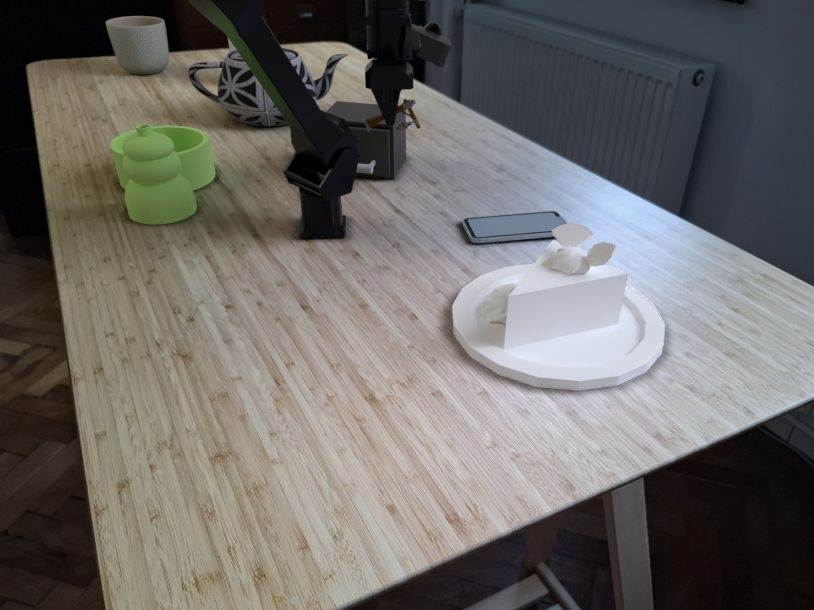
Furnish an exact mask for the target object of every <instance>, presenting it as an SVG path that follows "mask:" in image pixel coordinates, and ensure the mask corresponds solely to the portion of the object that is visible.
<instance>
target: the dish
mask: <svg viewBox="0 0 814 610" xmlns="http://www.w3.org/2000/svg"><path fill="white" fill-rule="evenodd" d="M566 223H567V224H563V225H559V226H558V227H556V228H554V229H553V230H552V233H553V235H554V236H555V237H554V238H555V239H552V241H550V243H549V245H547V247H546V248H545V250H543V252H542V253H541V255H540V256H539V257H538V258H537V260H536V261H535V262H534V263H530V264H519V265H517V264H516V265H508V266H505V267H502V268H499V269H495V270H492V271H488V272H486V273H483V274H480V275H479V276H478V277H476V278H474V279H473V280H471V282H469V283H467V284H466V285H464V286H463V287H462V288H461V289H460V291H459V292H458V295H457V296H456V298H455V300H454V302H453V303H452V305H451V320H452V328H453V329H452V330H453V336H454V338H455V339H456V340H457V342H458V343H459V344H460V345H461V347H462V348H463V350H464V351H465V352H466V353H467V355H468V357H470V358H472V359H473V360H475V361H476V362H477V363H479V364H481V365H483V366H484V367H485V368H487V369H489V370H490V371H491V372H493V373H495V374H496V375H498V376H501V377H504V378H507V379H510V380H514V381H516V382H520V383H523V384H526V385H529V386H532V387H536V388H542V389H543V388H544V389H554V390H563V391H564V390H565V391H573V392H574V391H576V392H581V391H588V390H594V389H602V388H610V387H616V386H617V387H618V386H619V385H622V384H624V383H626V382H628V381H630V380H632V379H635V378H637V377H639V376H642V375H644V374H646V373H647V371H648V370H649V369H650V368H651V367H652V366H653V365H654V363H655V362H656V361H657V360H658V359H659V358H660V356H661V355H662V353H663V349H664V346H665V345H664V344H665V333H666V322H665V321H664V319H663V318H662V316H661V314H660V312H659V309H658V308H657V307H656V305H655V304H654V303H653V302H652V301H651V300H650V299H649V298H647V297H646V296H645V295H644V294H642V293H641V292H640V291H639V290H638V289H636V287H634V286H631V285H630V284H628V283H627V281H628V277H629V273H628V272H627V271H624V270H622V269H620V268H617V267H615V266H613V265H611V264H608V262H609V261H610V260H611V259H612V257H613V255H614V253H615V251H616V249H617V245H616V243H611V242H606V241H601V242H598V243H595V244H593V246H592V247H591V248H590V249H588V252H587V251H586V250H584V249H582V248H581V247H583V246H584V245H585V244H587V242H589V241H590V240H592V239H593V238H594V237H595V234H594V232H593V231H591V229H590V228H589V227H588V226H586V225H584V224H581V223H580V222H579V223H577V222H566Z"/></svg>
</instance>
